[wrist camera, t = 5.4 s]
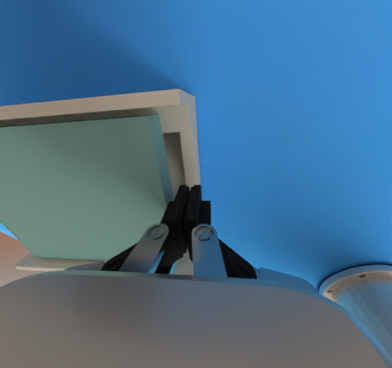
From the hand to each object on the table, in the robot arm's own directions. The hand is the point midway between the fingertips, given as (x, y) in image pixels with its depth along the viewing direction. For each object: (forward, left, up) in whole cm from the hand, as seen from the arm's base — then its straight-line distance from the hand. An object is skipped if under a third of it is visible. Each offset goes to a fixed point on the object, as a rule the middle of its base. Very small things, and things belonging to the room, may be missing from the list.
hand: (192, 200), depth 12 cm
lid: (+10, 0, -1) cm, 10 cm away
